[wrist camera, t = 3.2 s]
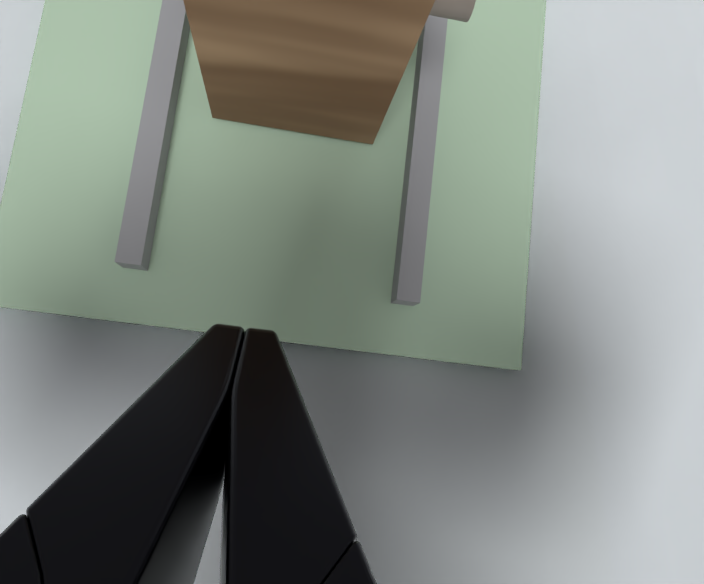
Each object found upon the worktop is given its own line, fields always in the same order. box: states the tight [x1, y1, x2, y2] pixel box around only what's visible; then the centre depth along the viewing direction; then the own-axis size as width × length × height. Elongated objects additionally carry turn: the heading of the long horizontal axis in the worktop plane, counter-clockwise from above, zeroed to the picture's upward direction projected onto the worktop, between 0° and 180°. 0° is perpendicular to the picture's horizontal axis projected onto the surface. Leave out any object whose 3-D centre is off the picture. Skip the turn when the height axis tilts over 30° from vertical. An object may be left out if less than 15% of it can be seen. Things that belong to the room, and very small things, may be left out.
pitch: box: [0, 0, 546, 370], centre depth 20 cm, size 24×18×2 cm
